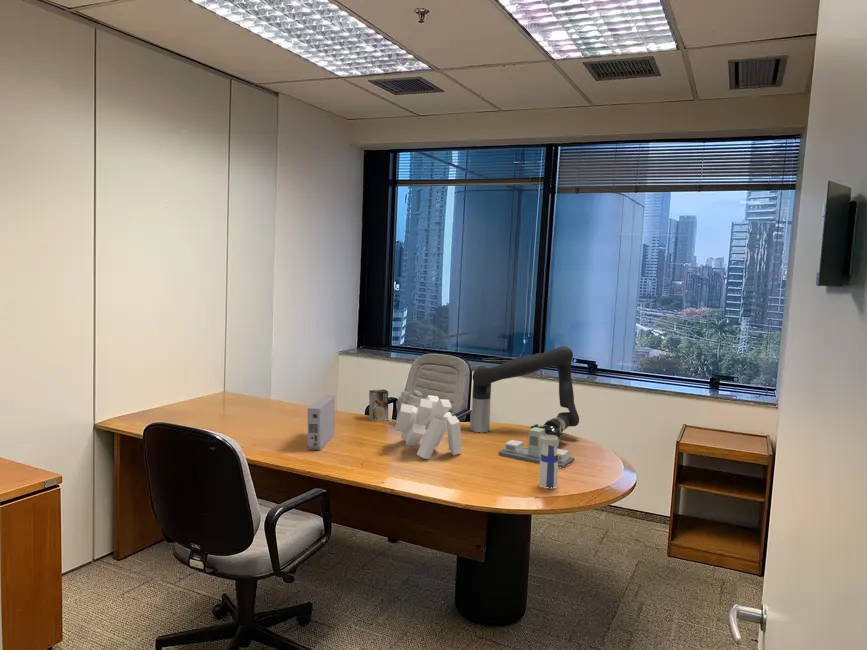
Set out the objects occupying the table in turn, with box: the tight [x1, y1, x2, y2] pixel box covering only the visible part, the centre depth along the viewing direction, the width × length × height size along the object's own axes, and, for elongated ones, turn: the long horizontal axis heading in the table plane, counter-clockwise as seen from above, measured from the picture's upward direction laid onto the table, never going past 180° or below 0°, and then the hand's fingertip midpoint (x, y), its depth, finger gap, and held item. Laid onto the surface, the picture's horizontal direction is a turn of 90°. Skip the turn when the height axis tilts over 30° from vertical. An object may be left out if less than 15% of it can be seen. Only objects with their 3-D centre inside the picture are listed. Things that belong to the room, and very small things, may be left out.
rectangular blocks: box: [504, 439, 570, 462], centre depth 282 cm, size 28×7×3 cm, turn 56°
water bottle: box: [537, 425, 561, 488], centre depth 248 cm, size 8×9×25 cm
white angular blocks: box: [394, 394, 463, 460], centre depth 287 cm, size 35×30×35 cm
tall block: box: [528, 427, 546, 456], centre depth 281 cm, size 5×6×11 cm
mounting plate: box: [503, 447, 570, 463], centre depth 282 cm, size 29×7×1 cm, turn 56°
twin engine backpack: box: [395, 389, 427, 420], centre depth 332 cm, size 18×19×20 cm
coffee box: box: [368, 388, 389, 423], centre depth 342 cm, size 9×6×16 cm
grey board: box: [497, 447, 576, 469], centre depth 282 cm, size 31×13×2 cm, turn 56°
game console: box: [307, 394, 335, 451], centre depth 299 cm, size 6×27×20 cm, turn 174°
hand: (540, 434), depth 284 cm, fingers open, 8 cm apart
